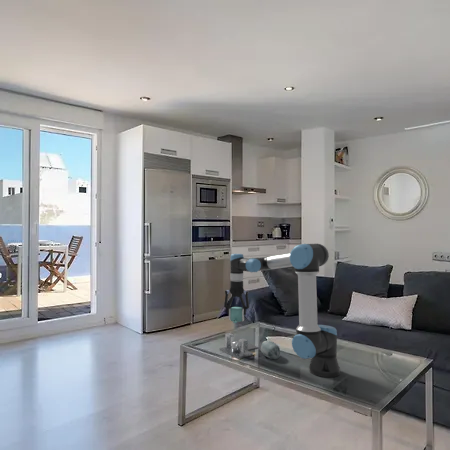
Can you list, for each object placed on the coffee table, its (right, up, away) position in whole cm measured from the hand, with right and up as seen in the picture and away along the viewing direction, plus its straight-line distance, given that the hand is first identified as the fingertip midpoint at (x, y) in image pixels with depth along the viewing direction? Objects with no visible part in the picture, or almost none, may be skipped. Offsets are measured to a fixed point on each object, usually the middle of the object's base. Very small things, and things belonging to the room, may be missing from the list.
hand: (236, 320), depth 219 cm
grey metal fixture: (0, -19, 0) cm, 19 cm away
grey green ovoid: (+19, -19, -6) cm, 27 cm away
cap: (0, 0, 0) cm, 0 cm away
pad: (+8, -19, +9) cm, 22 cm away
